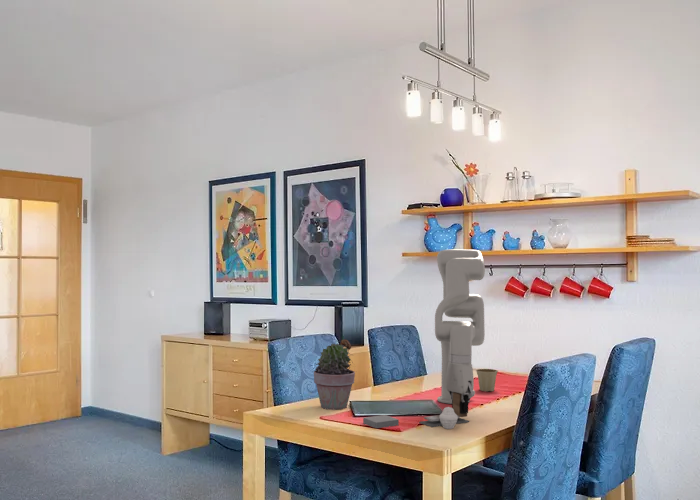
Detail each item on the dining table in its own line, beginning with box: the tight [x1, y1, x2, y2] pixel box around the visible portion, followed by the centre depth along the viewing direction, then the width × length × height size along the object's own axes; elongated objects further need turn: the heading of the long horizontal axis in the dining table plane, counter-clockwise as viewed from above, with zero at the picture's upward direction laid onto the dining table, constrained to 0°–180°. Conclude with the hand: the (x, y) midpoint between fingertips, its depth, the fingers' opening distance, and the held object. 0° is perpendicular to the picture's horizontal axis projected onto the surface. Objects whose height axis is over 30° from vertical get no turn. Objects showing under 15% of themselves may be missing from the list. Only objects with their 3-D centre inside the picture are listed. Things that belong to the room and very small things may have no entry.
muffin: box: [439, 406, 458, 430], centre depth 228 cm, size 6×6×7 cm
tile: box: [362, 414, 400, 429], centre depth 232 cm, size 2×8×9 cm
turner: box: [423, 392, 468, 421], centre depth 237 cm, size 16×4×8 cm, turn 121°
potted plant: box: [313, 339, 356, 411], centre depth 258 cm, size 18×20×25 cm
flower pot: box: [475, 368, 499, 392], centre depth 297 cm, size 9×9×9 cm
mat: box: [418, 417, 470, 428], centre depth 236 cm, size 16×7×1 cm, turn 121°
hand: (460, 411), depth 240 cm, fingers closed on turner, 3 cm apart
